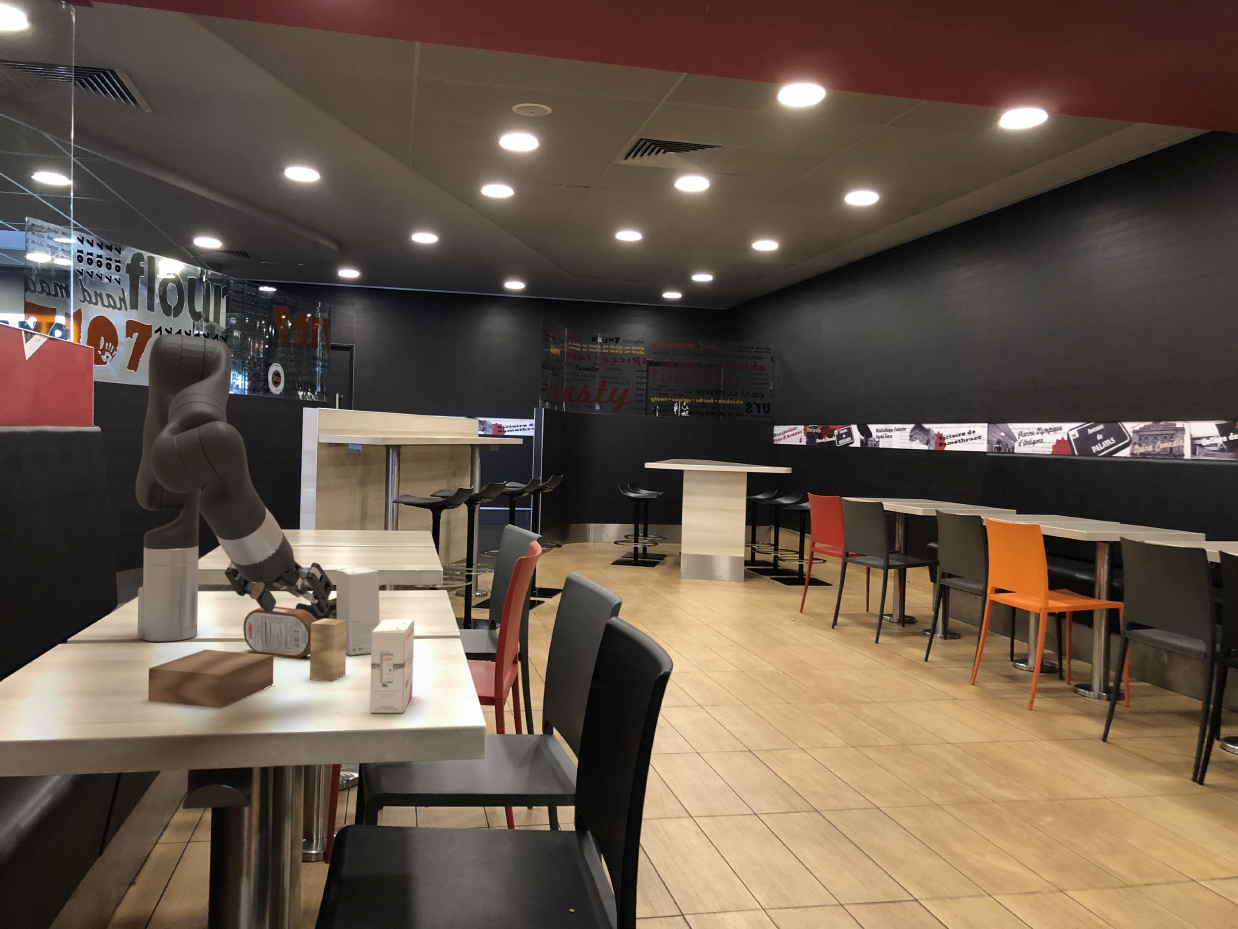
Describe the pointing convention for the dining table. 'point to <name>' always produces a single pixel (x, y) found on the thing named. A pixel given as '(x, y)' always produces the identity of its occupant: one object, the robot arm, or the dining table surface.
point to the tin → (279, 632)
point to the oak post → (328, 649)
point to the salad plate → (329, 614)
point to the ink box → (392, 666)
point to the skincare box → (358, 606)
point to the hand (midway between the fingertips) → (297, 609)
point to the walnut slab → (210, 678)
